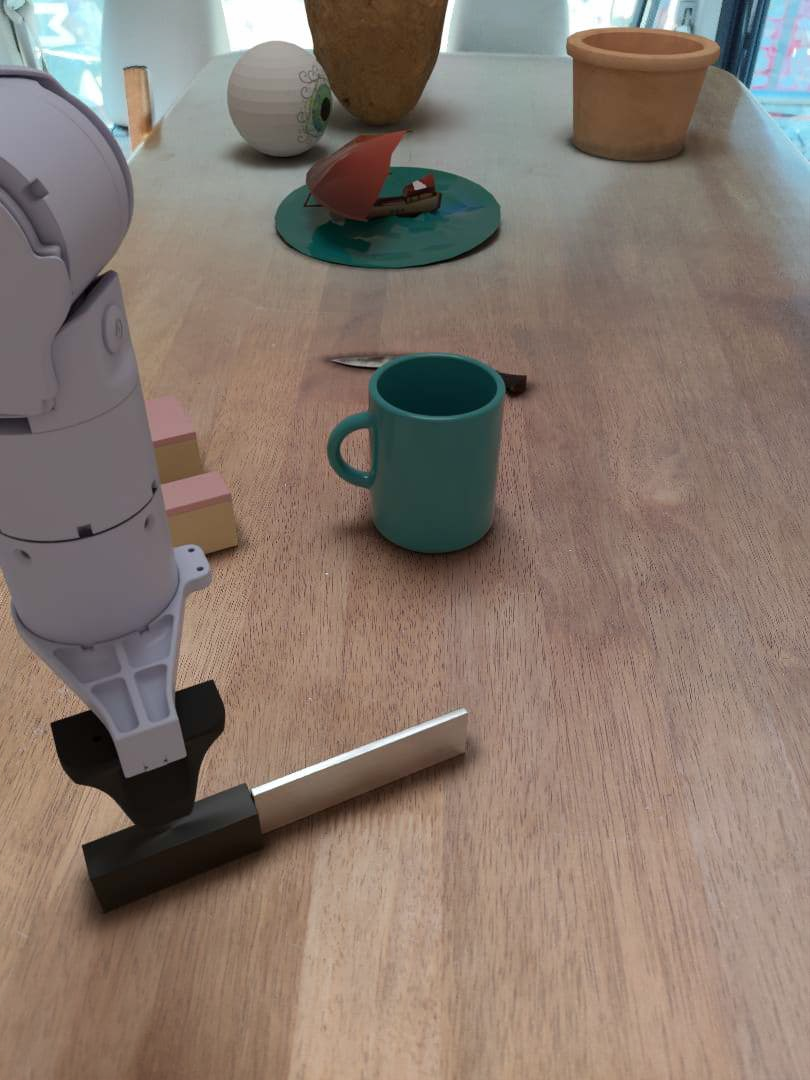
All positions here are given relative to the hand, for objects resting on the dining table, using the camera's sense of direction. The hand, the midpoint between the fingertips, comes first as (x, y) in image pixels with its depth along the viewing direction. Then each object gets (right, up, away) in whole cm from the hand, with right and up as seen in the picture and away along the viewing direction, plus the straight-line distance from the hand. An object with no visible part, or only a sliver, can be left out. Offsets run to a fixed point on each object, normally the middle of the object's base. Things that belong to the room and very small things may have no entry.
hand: (142, 746), depth 39 cm
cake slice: (-5, +8, +25) cm, 26 cm away
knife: (+13, +24, +45) cm, 53 cm away
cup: (+12, +10, +28) cm, 32 cm away
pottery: (+46, +70, +101) cm, 131 cm away
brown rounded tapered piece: (+7, +77, +109) cm, 133 cm away
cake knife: (+5, -6, +8) cm, 11 cm away
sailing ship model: (+9, +48, +74) cm, 89 cm away
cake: (-10, +14, +32) cm, 36 cm away
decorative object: (-7, +66, +96) cm, 116 cm away
